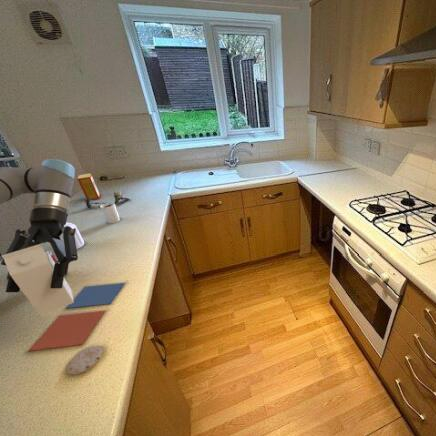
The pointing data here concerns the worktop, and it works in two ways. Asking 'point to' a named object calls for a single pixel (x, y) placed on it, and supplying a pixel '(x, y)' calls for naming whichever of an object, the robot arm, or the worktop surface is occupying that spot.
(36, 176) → the robot arm
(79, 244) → the soap bottle
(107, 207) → the white cup
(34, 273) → the milk carton
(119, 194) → the artificial flower
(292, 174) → the worktop surface
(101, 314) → the terracotta mat
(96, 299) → the slate-blue mat
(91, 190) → the baking soda box
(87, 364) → the flatbread
